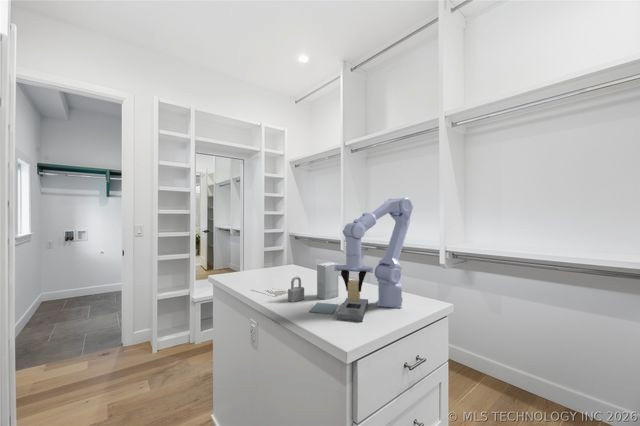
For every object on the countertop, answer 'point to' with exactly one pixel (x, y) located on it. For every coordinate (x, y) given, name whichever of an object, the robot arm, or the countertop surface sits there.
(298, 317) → the countertop surface
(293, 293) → the padlock
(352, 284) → the tan rectangular block
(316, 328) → the countertop surface
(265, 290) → the grooming comb
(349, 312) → the grey slotted base plate
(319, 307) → the rubber mat
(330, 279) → the skincare box
